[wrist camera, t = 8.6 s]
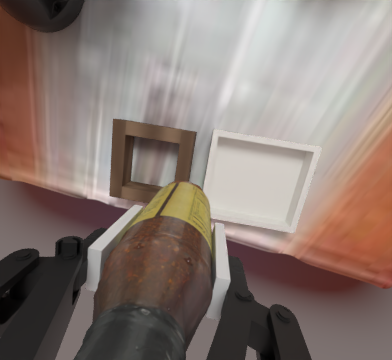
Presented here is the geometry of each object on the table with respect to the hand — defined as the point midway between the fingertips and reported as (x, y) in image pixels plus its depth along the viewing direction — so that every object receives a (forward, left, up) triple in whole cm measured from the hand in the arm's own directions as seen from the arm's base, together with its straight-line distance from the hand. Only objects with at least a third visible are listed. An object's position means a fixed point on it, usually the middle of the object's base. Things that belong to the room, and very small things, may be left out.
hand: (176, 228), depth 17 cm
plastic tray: (+11, +1, -23) cm, 25 cm away
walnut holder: (-8, +1, -23) cm, 24 cm away
